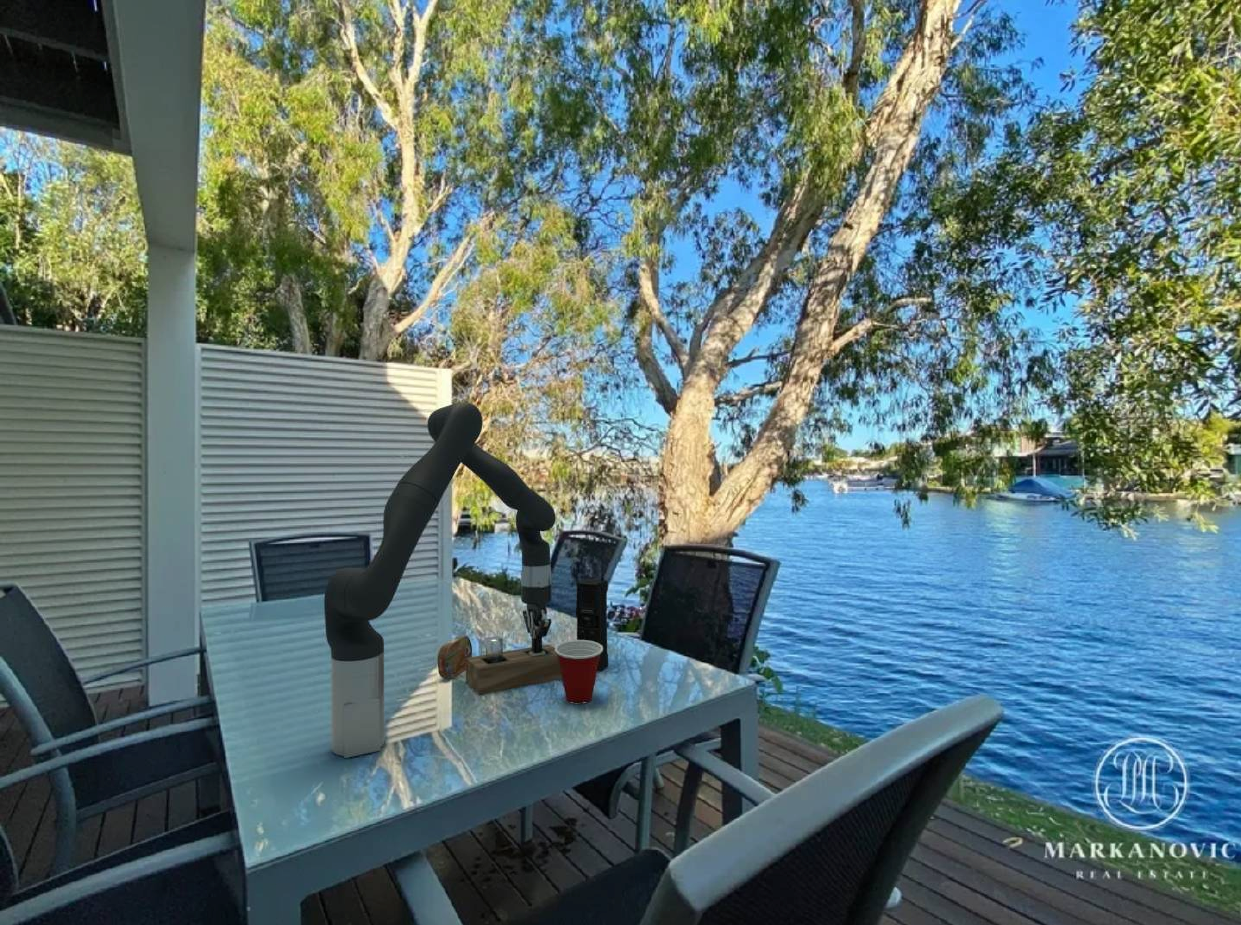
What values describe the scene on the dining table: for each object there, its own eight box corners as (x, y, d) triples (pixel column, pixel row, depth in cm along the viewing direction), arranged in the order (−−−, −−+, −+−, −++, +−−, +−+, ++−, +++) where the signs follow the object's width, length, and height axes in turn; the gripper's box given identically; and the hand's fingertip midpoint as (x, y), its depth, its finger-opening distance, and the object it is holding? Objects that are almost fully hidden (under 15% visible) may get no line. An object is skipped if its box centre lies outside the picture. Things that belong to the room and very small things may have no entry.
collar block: (566, 678, 159) (565, 653, 159) (479, 695, 147) (479, 668, 148) (549, 667, 167) (548, 644, 167) (465, 682, 156) (465, 657, 156)
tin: (447, 683, 156) (446, 648, 156) (435, 682, 157) (434, 647, 157) (473, 664, 171) (473, 632, 171) (462, 663, 171) (462, 632, 172)
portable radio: (571, 668, 166) (570, 571, 166) (583, 662, 171) (582, 568, 171) (598, 673, 162) (597, 573, 162) (609, 666, 168) (608, 570, 168)
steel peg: (505, 662, 154) (505, 639, 154) (489, 665, 152) (489, 641, 152) (499, 658, 157) (499, 635, 157) (483, 660, 155) (483, 637, 155)
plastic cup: (559, 711, 137) (559, 655, 137) (551, 694, 148) (550, 641, 148) (609, 706, 140) (608, 650, 140) (597, 689, 150) (596, 638, 151)
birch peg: (547, 675, 160) (547, 653, 160) (532, 678, 157) (532, 655, 158) (541, 670, 163) (541, 649, 163) (526, 673, 161) (526, 651, 161)
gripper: (512, 580, 164) (512, 648, 164) (532, 588, 153) (533, 661, 153) (539, 577, 168) (540, 643, 168) (561, 585, 157) (562, 656, 157)
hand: (537, 652), depth 160 cm, fingers closed
